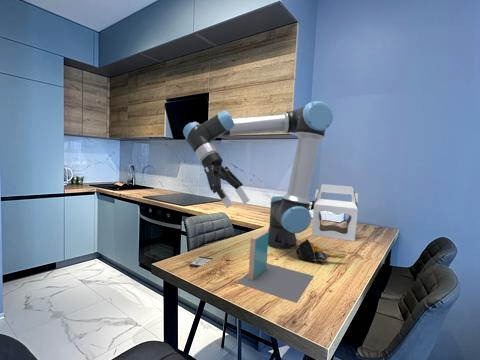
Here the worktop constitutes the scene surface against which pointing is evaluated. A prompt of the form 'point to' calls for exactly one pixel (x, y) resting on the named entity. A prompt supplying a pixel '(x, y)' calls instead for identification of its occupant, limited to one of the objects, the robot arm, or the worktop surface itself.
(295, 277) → the mat
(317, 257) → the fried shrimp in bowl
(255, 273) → the tile
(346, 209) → the gable box
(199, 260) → the chocolate bar
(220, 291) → the worktop surface
